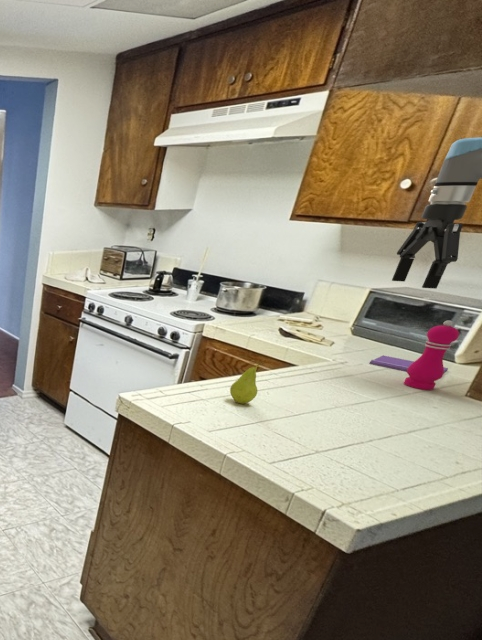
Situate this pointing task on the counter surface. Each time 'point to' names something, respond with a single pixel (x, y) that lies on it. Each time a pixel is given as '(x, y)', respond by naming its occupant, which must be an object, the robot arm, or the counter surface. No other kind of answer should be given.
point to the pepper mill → (432, 357)
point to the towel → (394, 363)
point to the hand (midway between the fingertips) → (412, 284)
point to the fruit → (245, 386)
